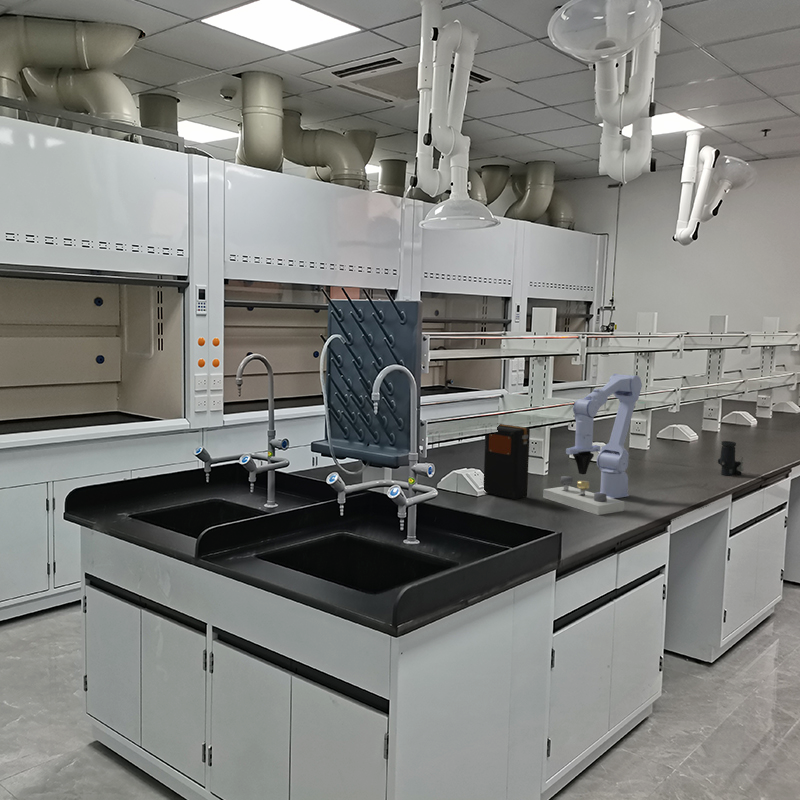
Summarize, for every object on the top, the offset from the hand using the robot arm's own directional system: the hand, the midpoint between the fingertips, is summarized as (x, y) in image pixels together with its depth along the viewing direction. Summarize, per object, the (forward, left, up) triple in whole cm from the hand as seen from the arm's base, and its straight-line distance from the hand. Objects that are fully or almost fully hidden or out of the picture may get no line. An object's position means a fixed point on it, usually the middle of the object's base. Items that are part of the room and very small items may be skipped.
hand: (582, 473), depth 251 cm
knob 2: (0, +9, -10) cm, 14 cm away
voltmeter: (+16, -21, -11) cm, 29 cm away
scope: (-92, -8, -11) cm, 93 cm away
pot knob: (0, +1, -8) cm, 8 cm away
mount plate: (0, +1, -10) cm, 10 cm away
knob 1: (0, -7, -8) cm, 11 cm away
